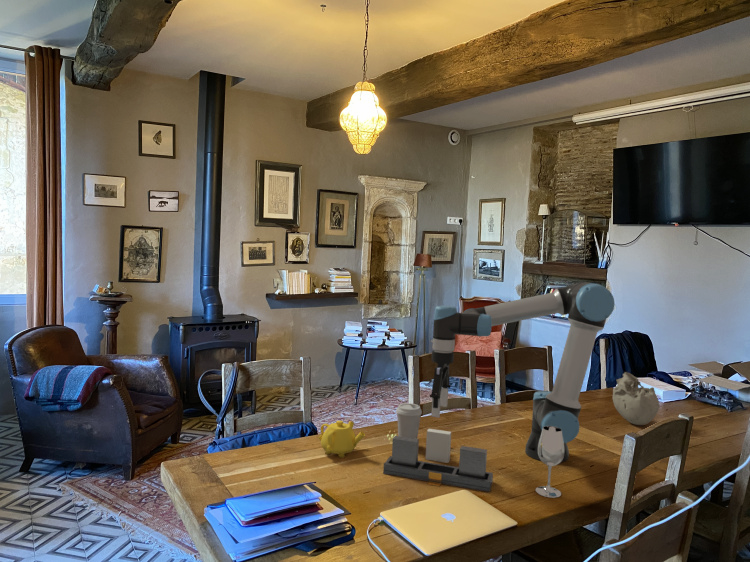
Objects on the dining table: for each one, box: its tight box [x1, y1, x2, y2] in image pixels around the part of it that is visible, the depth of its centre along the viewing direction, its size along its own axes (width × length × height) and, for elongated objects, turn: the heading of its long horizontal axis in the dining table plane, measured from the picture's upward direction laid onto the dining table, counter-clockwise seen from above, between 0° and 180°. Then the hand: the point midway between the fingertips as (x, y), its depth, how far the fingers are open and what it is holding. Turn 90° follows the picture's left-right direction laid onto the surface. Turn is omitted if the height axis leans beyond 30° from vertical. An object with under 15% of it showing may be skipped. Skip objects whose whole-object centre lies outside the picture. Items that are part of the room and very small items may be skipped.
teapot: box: [318, 420, 366, 458], centre depth 196 cm, size 14×14×11 cm
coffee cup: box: [395, 402, 423, 439], centre depth 205 cm, size 10×10×15 cm
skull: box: [612, 371, 661, 426], centre depth 244 cm, size 20×15×22 cm
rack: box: [382, 435, 494, 493], centre depth 177 cm, size 34×10×11 cm, turn 72°
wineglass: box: [535, 426, 564, 499], centre depth 170 cm, size 8×8×20 cm
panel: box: [425, 428, 452, 464], centre depth 193 cm, size 8×3×10 cm, turn 72°
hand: (439, 411), depth 192 cm, fingers open, 13 cm apart
